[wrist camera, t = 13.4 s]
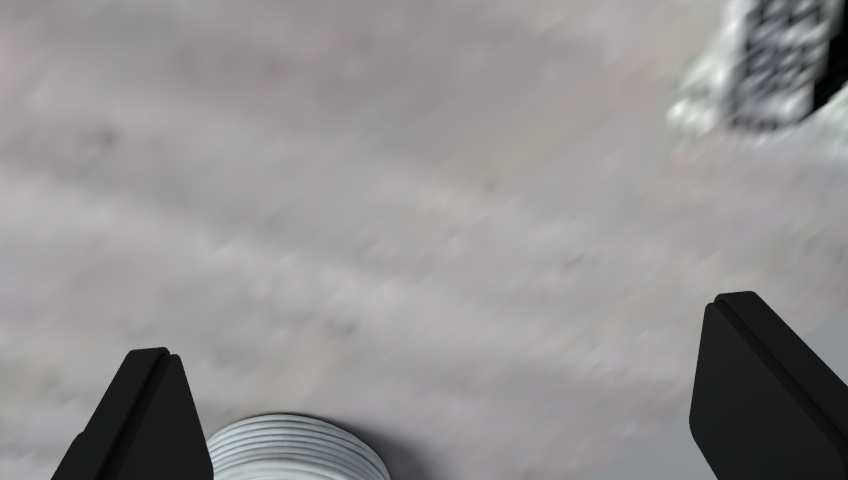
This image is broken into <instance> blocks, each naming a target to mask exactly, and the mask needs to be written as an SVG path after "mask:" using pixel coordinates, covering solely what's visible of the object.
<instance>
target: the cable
mask: <svg viewBox="0 0 848 480" xmlns="http://www.w3.org/2000/svg"><path fill="white" fill-rule="evenodd" d="M206 444H207V447H208V451H209V454H210V457H211V461H212V464H213V469H214V480H391V479H390V476H389V474H388V471H387V469H386V467H385V465H384V463H383V462H382V460H381V459H380V458H379V456H378V455H377V454H376V453H375V452H374V451H373V450H372V449H371V448H370V447H369V446H367V445H366V444H364V443H363V442H362V441H361V440H359V439H358V438H357V437H355V436H354V435H352V434H350V433H349V432H346V431H344V430H342V429H339V428H338V427H336V426H333V425H331V424H328V423H325V422H323V421H320V420H316V419H312V418H307V417H302V416H294V415H266V416H258V417H253V418H249V419H245V420H242V421H239V422H236V423H233V424H231V425H229V426H227V427H225V428H223V429H222V430H220V431H218V432H217V433H216V434H215V435H214V436H212V437H211V438H210V439H209V440H208V441H207V442H206Z"/></svg>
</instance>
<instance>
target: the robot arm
mask: <svg viewBox="0 0 848 480" xmlns="http://www.w3.org/2000/svg"><path fill="white" fill-rule="evenodd" d="M689 424H690V430H691V433H692V436H693V438H694V440H695V442H696V444H697V445H698V447H699V448H700V450H701V452H702V454H703V455H704V457H705V459H706V461H707V462H708V464H709V466H710V467H711V469H712V471H713V472H714V474H715V475H716V477H717V479H718V480H848V386H847V385H846V384H845V383H844V382H843V381H842V380H841V379H840V378H839V377H838V376H837V375H836V374H835V373H834V372H833V371H832V370H831V369H830V368H829V367H828V366H827V365H826V364H825V363H824V362H823V361H822V360H821V359H820V358H819V357H818V356H817V355H816V354H815V353H814V352H813V351H812V350H811V349H810V348H809V347H808V346H807V345H806V343H805V342H803V340H802V339H801V338H800V337H799V336H798V335H797V334H796V333H795V332H794V331H793V330H792V329H791V328H790V327H789V326H788V325H787V324H786V323H785V322H784V321H783V320H782V319H781V318H780V317H779V316H778V315H777V314H776V313H775V312H774V311H773V310H772V309H771V308H770V307H769V306H768V305H767V304H766V303H765V302H764V301H763V300H762V299H761V298H760V297H759V296H758V295H757V294H756V293H755V292H753V291H744V292H733V293H723V294H719V295H717V296H716V298H715V300H714V303H709V304H707V306H706V308H705V312H704V319H703V326H702V333H701V340H700V347H699V354H698V361H697V367H696V374H695V381H694V388H693V395H692V402H691V409H690V416H689ZM51 480H214V469H213V464H212V461H211V457H210V454H209V451H208V447H207V444H206V441H205V437H204V434H203V431H202V428H201V424H200V421H199V418H198V414H197V411H196V408H195V404H194V401H193V398H192V394H191V391H190V388H189V384H188V381H187V378H186V374H185V371H184V368H183V365H182V361H181V359H180V357H179V356H178V355H177V354H172V355H170V352H169V351H168V349H167V348H165V347H158V348H148V349H137V350H132V351H130V352H129V353H128V354H127V355H126V357H125V359H124V361H123V363H122V364H121V366H120V368H119V370H118V371H117V373H116V375H115V377H114V378H113V380H112V382H111V384H110V385H109V387H108V389H107V391H106V392H105V394H104V396H103V398H102V399H101V401H100V403H99V405H98V407H97V408H96V410H95V412H94V414H93V415H92V417H91V419H90V421H89V422H88V424H87V426H86V428H85V429H84V431H83V432H81V433H80V434H78V435H77V437H76V438H75V439H74V441H73V442H72V444H71V445H70V447H69V449H68V451H67V452H66V454H65V456H64V458H63V459H62V461H61V463H60V465H59V466H58V468H57V470H56V471H55V473H54V475H53V477H52V478H51Z"/></svg>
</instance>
